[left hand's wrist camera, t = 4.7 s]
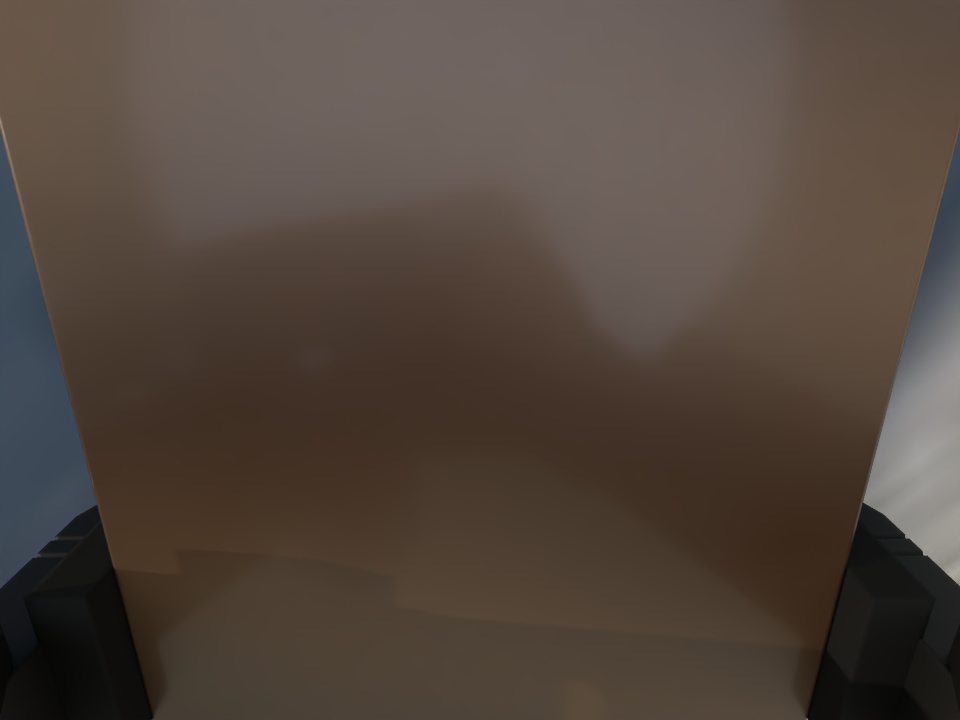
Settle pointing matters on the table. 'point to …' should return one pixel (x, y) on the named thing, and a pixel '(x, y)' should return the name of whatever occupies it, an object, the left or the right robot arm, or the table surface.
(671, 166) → the thick board
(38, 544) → the table surface
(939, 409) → the table surface
